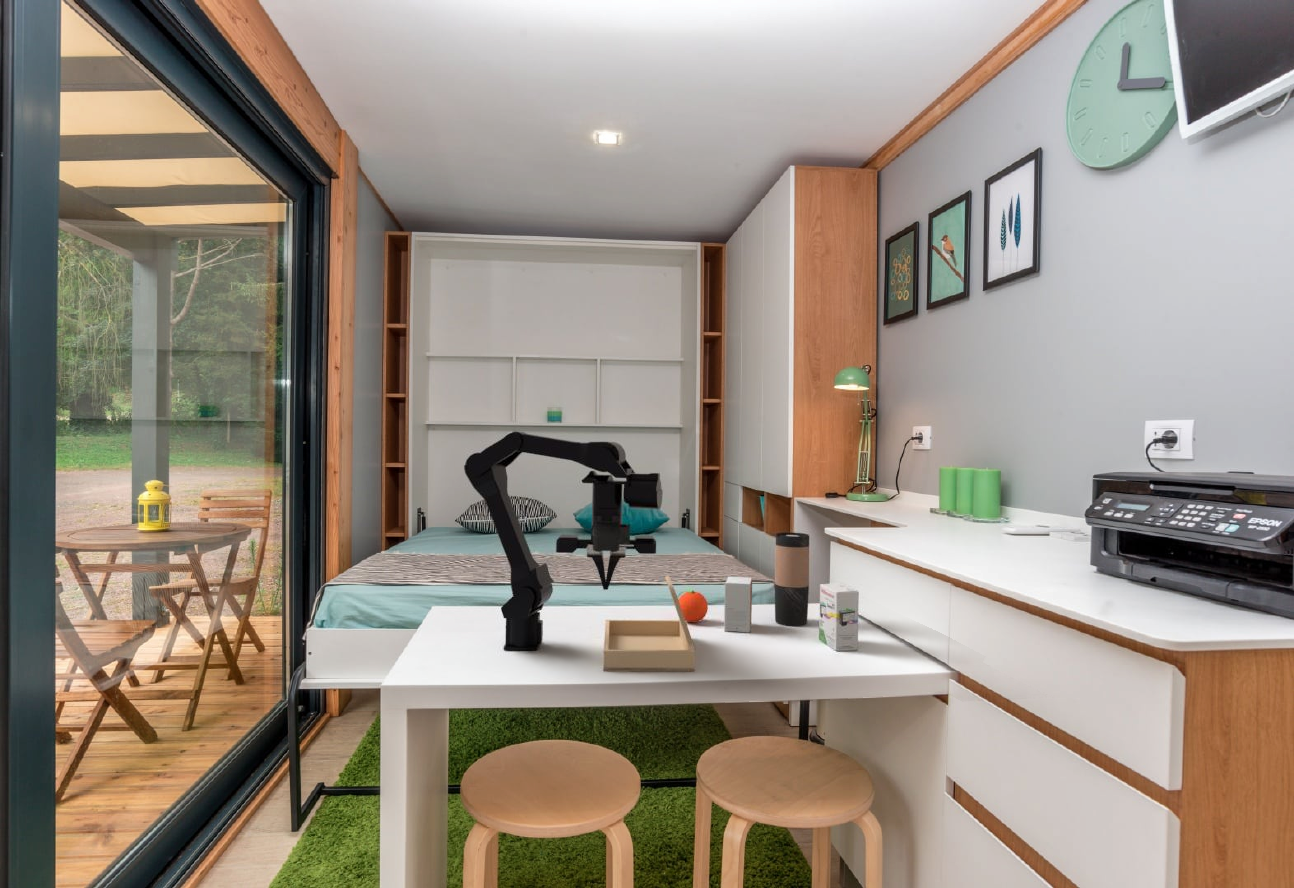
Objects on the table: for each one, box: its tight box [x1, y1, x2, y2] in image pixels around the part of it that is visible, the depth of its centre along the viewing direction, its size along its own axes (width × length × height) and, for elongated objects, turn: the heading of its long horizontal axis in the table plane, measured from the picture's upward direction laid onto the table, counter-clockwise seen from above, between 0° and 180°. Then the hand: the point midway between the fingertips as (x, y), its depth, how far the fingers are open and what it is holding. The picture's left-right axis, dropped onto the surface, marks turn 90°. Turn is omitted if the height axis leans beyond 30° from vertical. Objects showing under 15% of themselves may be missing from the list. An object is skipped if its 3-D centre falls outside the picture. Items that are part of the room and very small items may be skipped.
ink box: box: [818, 582, 860, 652], centre depth 141 cm, size 8×5×12 cm, turn 9°
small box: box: [723, 576, 753, 633], centre depth 153 cm, size 8×6×10 cm
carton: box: [602, 619, 696, 672], centre depth 134 cm, size 16×22×4 cm
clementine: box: [677, 590, 709, 623], centre depth 158 cm, size 8×7×7 cm
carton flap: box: [664, 575, 694, 645], centre depth 134 cm, size 1×20×9 cm, turn 2°
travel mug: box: [774, 531, 810, 627], centre depth 159 cm, size 8×8×20 cm
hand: (605, 589), depth 133 cm, fingers closed
